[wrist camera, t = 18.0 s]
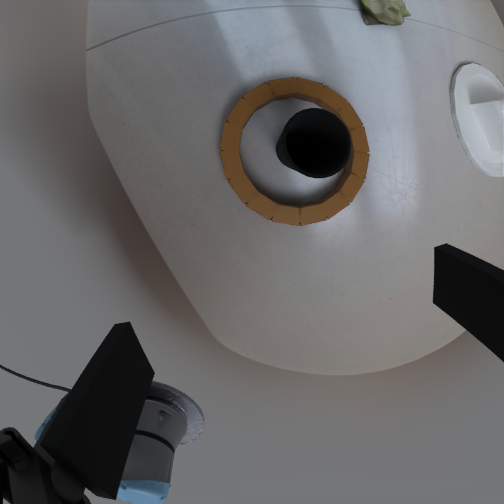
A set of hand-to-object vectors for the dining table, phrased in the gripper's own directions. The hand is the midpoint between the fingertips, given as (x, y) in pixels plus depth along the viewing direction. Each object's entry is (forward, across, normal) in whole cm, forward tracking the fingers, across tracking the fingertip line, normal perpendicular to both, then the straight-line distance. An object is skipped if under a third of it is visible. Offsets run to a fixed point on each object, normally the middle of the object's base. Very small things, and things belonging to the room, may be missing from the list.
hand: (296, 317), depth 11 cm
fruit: (+32, +30, +32) cm, 54 cm away
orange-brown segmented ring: (+32, +8, +7) cm, 33 cm away
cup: (+32, +8, +7) cm, 34 cm away
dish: (+32, +53, +10) cm, 63 cm away
